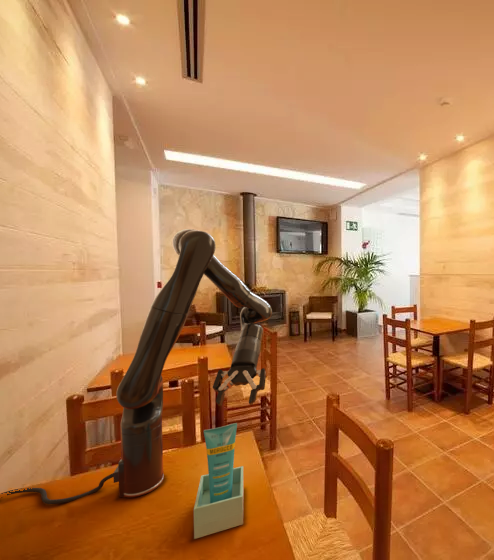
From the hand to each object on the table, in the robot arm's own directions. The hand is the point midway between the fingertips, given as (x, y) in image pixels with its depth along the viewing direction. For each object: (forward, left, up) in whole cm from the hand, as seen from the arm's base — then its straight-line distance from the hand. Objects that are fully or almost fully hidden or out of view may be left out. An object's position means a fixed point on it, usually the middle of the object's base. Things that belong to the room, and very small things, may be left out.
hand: (235, 404), depth 86 cm
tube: (-3, -11, -20) cm, 23 cm away
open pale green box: (-3, -11, -23) cm, 25 cm away
